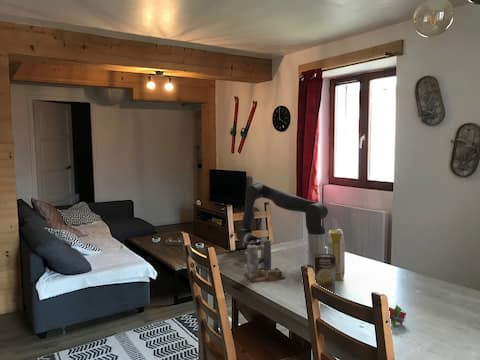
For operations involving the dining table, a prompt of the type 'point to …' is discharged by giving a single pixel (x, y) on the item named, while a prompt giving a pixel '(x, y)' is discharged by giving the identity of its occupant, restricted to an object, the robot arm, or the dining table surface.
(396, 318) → the geometric puzzle
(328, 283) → the coffee box
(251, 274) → the hinge jig
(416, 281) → the dining table surface
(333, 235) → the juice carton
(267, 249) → the grey clamp fixture
